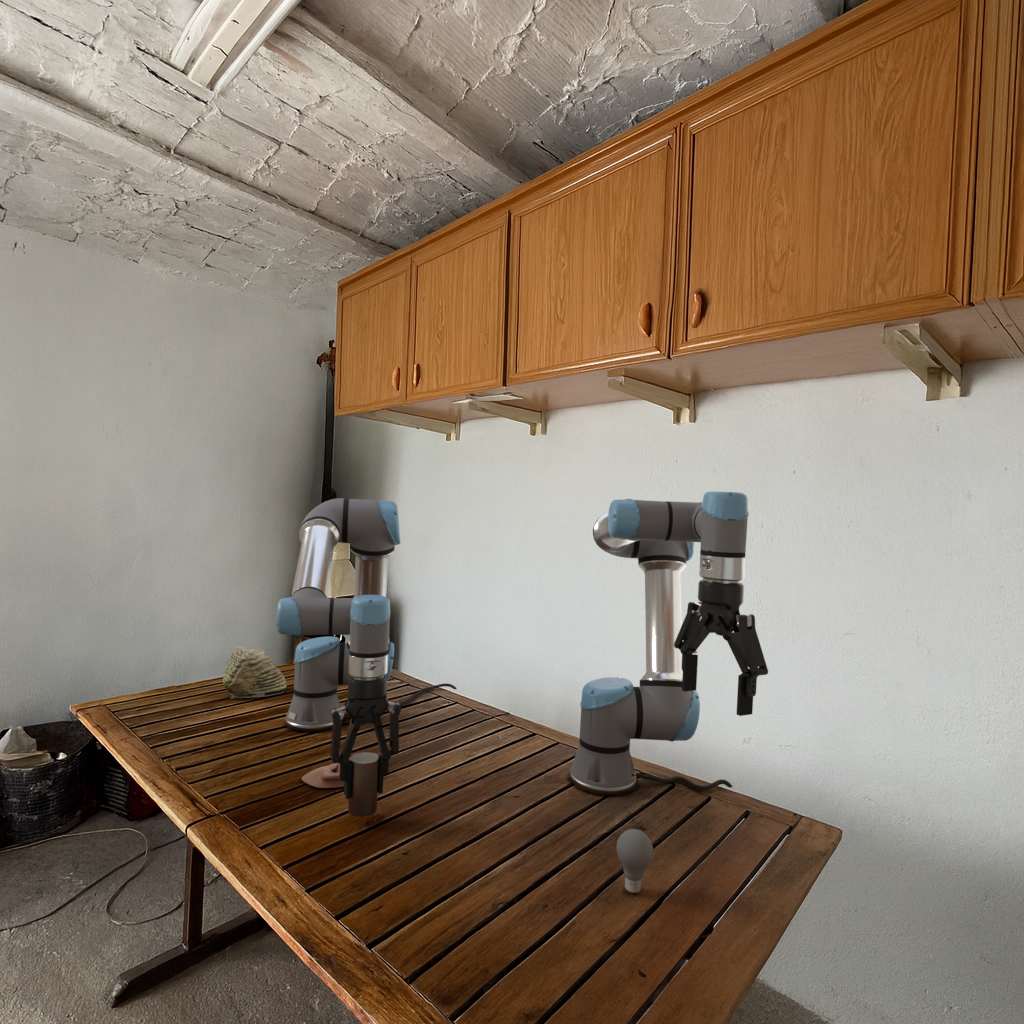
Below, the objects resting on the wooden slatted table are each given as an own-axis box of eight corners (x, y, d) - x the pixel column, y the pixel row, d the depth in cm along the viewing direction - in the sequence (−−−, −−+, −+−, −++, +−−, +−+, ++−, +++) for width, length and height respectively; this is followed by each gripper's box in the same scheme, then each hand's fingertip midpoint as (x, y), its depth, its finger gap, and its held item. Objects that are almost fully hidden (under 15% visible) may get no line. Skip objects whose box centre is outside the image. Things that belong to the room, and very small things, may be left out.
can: (342, 810, 123) (344, 758, 123) (363, 800, 128) (365, 749, 128) (361, 819, 120) (363, 765, 120) (382, 808, 125) (385, 756, 125)
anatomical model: (294, 766, 138) (320, 747, 150) (294, 784, 138) (320, 763, 150) (351, 774, 136) (373, 754, 147) (350, 792, 136) (372, 770, 147)
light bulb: (610, 879, 108) (613, 822, 108) (644, 879, 109) (647, 822, 109) (619, 902, 102) (622, 840, 102) (655, 901, 103) (658, 840, 103)
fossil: (218, 695, 195) (220, 647, 195) (278, 685, 208) (279, 640, 207) (228, 703, 189) (230, 653, 188) (289, 692, 201) (290, 645, 201)
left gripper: (322, 684, 116) (317, 810, 117) (419, 676, 124) (414, 793, 125) (315, 674, 123) (311, 792, 123) (408, 666, 131) (403, 778, 131)
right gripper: (658, 571, 120) (653, 683, 120) (760, 591, 97) (753, 728, 97) (690, 571, 123) (684, 680, 123) (795, 590, 100) (789, 723, 101)
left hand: (363, 792), depth 124 cm, fingers closed on can, 5 cm apart
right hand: (715, 701), depth 110 cm, fingers open, 13 cm apart
